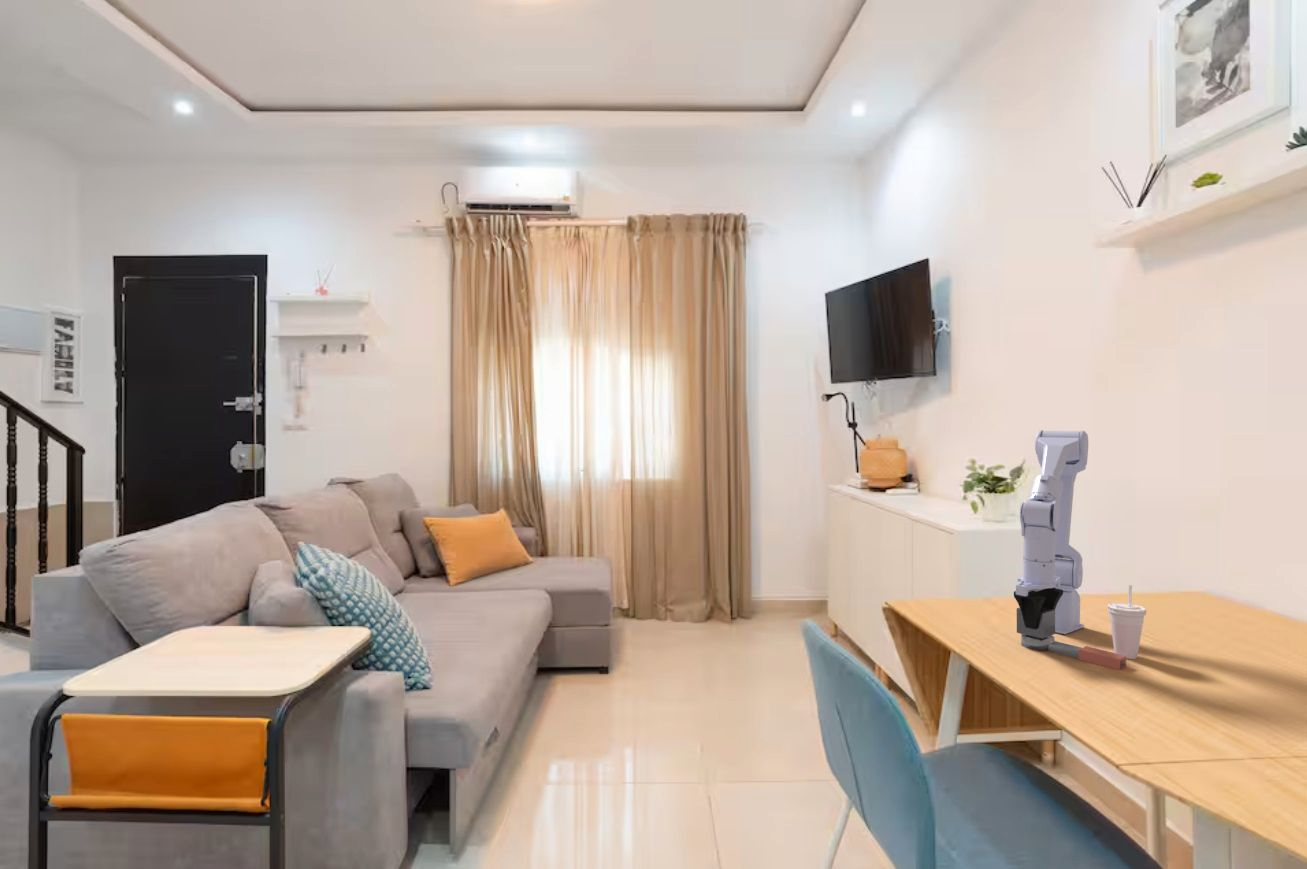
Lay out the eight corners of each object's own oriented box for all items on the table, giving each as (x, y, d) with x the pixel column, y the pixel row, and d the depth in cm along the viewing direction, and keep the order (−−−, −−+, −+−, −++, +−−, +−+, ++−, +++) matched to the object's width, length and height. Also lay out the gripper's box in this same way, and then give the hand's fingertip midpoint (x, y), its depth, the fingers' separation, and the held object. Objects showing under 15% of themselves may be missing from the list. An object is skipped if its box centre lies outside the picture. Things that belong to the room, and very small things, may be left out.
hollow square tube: (1029, 628, 149) (1029, 604, 149) (1055, 633, 145) (1055, 609, 144) (1016, 632, 146) (1016, 608, 146) (1042, 638, 142) (1042, 613, 141)
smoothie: (1151, 662, 135) (1153, 589, 135) (1114, 660, 137) (1116, 588, 136) (1136, 651, 142) (1137, 581, 141) (1100, 649, 143) (1101, 580, 142)
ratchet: (1129, 665, 134) (1129, 637, 134) (1115, 671, 131) (1116, 643, 130) (1029, 639, 149) (1030, 615, 149) (1015, 645, 146) (1015, 620, 145)
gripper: (1036, 552, 152) (1035, 615, 152) (1001, 560, 143) (1000, 627, 144) (1071, 557, 146) (1070, 623, 147) (1036, 566, 138) (1035, 635, 138)
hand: (1038, 625), depth 145 cm, fingers closed on hollow square tube, 5 cm apart
